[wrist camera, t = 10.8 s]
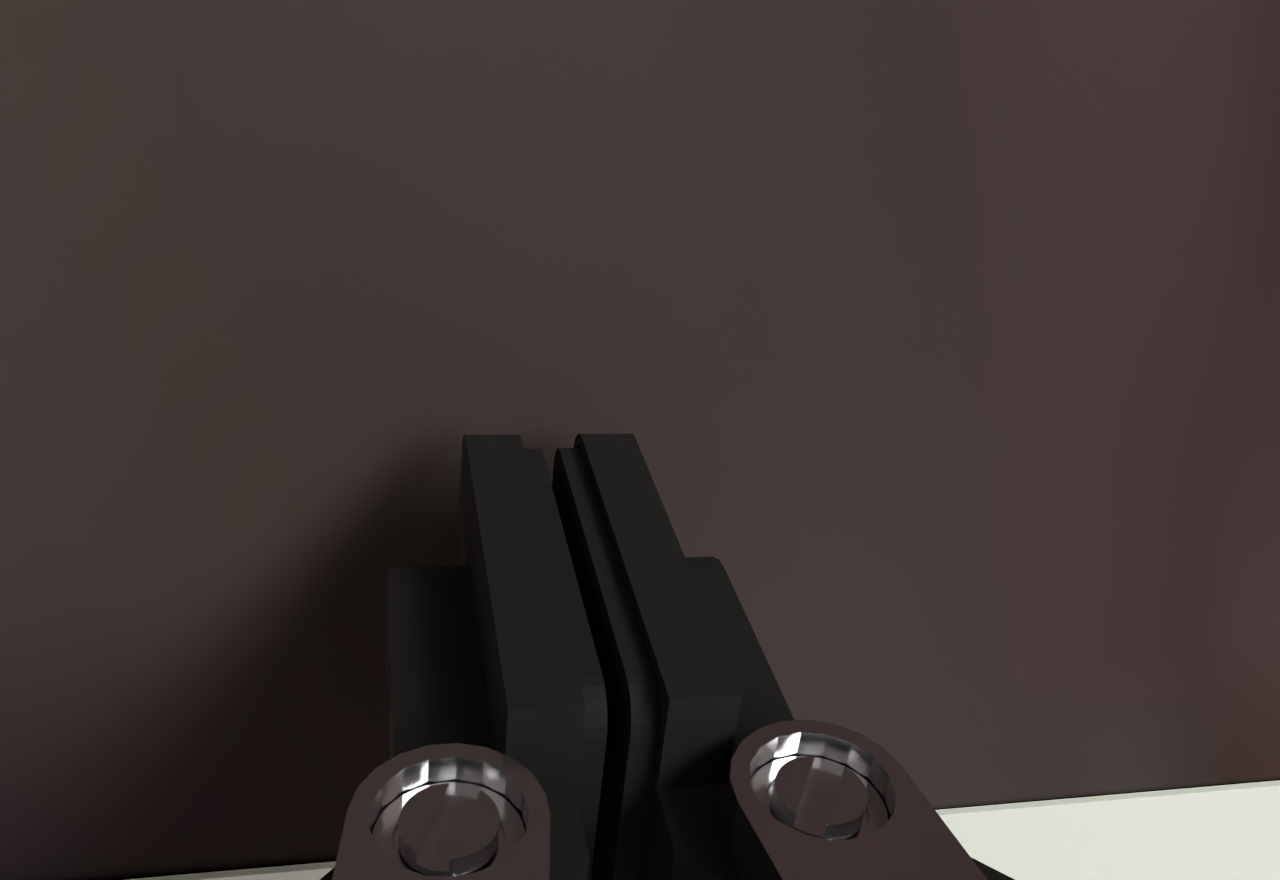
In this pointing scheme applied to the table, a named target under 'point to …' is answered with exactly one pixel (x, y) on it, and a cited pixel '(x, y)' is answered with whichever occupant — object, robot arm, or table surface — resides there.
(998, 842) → the paper sheet
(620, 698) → the robot arm
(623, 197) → the table surface
